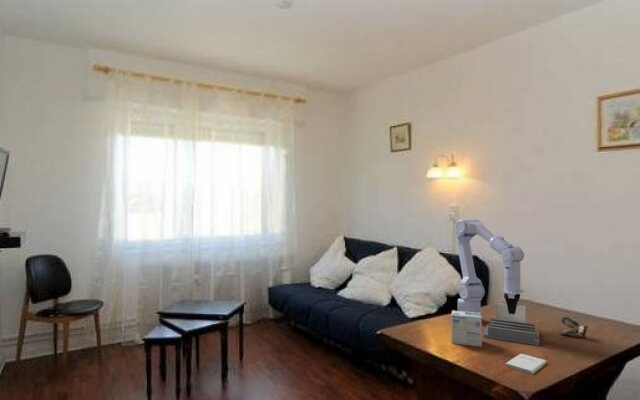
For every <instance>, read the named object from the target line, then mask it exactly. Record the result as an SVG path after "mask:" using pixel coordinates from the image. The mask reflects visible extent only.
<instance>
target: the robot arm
mask: <svg viewBox="0 0 640 400" xmlns="http://www.w3.org/2000/svg"><path fill="white" fill-rule="evenodd" d="M454 231H455V236H456V238H455V239H456V244H457V245H456V246H457V252H458V256H459V257H458V258H459V263H460V267H461V268H460V269H461V274H462V279H461V280H460V281H459V283H458V285H459V287H458V288H459V289H458V294H459V297H460V298H458V299H457V310H456V311H463V312H475V313H481V301H482V299H483V298H484V296H485V295H486V294H485V293H486V291H485V288H484V285H483V283H482V280H481V279H480V278H479V277H477V274H476V268H475V265H474V259H473V258H474V257H473V254H472V253H473V252H472V247H471V242H470V241H471V240H472V239H473V238H474V237H475V236H476V235H478V236H480V237H481V238H482V239H483V240H485V241H487V242H488V243H489V247H490V249H493V251H495V252H496V253H497V254H498V255H500V257H501V260H502V265H503V267H504V269H503V270H504V271H503V277H504V278H503V280H504V281H503V283H504V284H503V292H504V294H503V298H504V299H505V302H506V304H507V307H508V312H509V314H515V312H516V306H517V305H518V303H519V301H520V298H521V293H522V294H523V293H524V289H521V262H522V261H523V260H524V259H525V253H524V251H523V250H522V248H521V247H519V246H513V243H509V242H508V241H507V240H505V238H504V237H503V236H500V235H497V236H495V235H494V234H493V233H492V232H491V230H489V229H488V228H487V227H485V226H484V224H483V222H482V221H480V220H479V219H477V218H476V219H459V220H457V221H456V222H455V225H454Z"/></svg>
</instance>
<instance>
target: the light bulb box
mask: <svg viewBox="0 0 640 400" xmlns="http://www.w3.org/2000/svg"><path fill="white" fill-rule="evenodd" d="M450 317H451V325H450V326H451V328H450V329H451V344H455V345H463V346H473V347H483V325H482V323H483V317H482V312H480V313H475V312H463V311H457V310H454V309H453V310H451V316H450Z"/></svg>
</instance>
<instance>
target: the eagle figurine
mask: <svg viewBox="0 0 640 400" xmlns="http://www.w3.org/2000/svg"><path fill="white" fill-rule="evenodd" d="M561 323H562V324H563V325H565V326H566V327H568V328H570V329H564V330H562V331H560V332H558V334H559V335H560V336H561V335H576V334H580V335H582V337H583V338H584V339H586V334H587V330H588V326H589V324H587V325H579V323H578V322H577V321H576V320H573V319H571V318H570V317H569V316H566V317H564V316H563V318H561Z"/></svg>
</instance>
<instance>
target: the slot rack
mask: <svg viewBox="0 0 640 400" xmlns="http://www.w3.org/2000/svg"><path fill="white" fill-rule="evenodd" d="M535 322H536V323H533V322H532V323H530V322H518V321H510V320H503V319H497V318H493V317H490V320H489V323H488V324H486V327H485V329H484V332H483V333H482V338H486V339H487V338H488V339H494V340H500V341H508V342H513V343H518V344H525V345H534V346H540V329H539V328H540V321H539V319H536V321H535Z"/></svg>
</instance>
